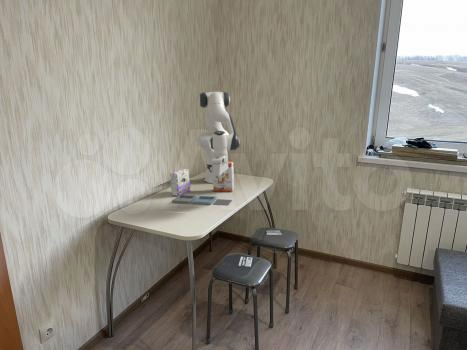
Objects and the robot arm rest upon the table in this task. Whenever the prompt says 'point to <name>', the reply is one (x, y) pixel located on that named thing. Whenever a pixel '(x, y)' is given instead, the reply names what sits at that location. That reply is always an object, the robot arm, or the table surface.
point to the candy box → (180, 182)
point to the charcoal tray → (184, 199)
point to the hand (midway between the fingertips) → (221, 179)
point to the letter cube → (222, 180)
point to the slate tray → (204, 200)
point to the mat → (222, 202)
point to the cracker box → (229, 183)
